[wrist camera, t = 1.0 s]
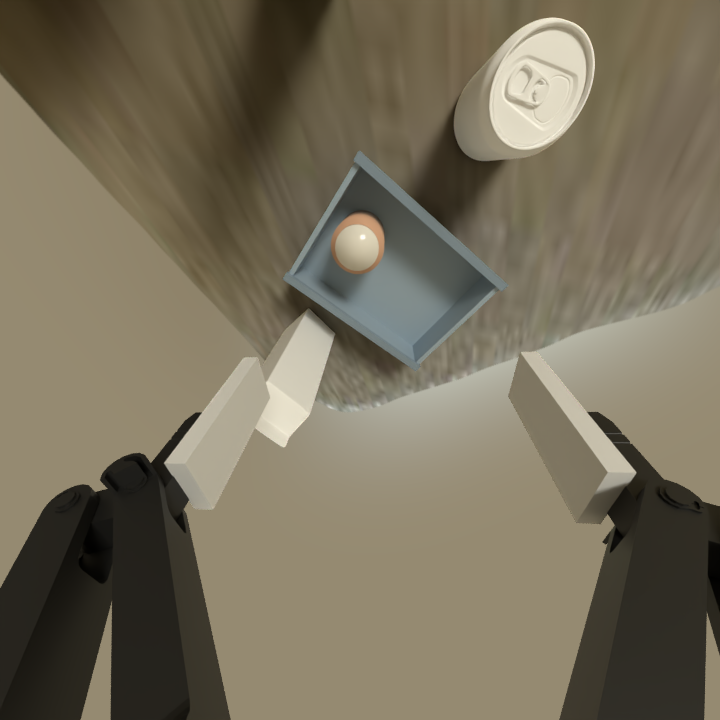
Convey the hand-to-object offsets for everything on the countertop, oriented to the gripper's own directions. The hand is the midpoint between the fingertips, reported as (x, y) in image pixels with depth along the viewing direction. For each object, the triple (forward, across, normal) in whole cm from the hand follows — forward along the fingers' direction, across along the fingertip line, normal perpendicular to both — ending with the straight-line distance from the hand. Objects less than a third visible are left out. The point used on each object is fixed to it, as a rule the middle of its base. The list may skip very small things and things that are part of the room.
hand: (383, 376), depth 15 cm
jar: (+29, -3, +2) cm, 29 cm away
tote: (+29, +1, -3) cm, 30 cm away
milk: (+30, -12, -12) cm, 34 cm away
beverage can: (+30, +12, +13) cm, 34 cm away
